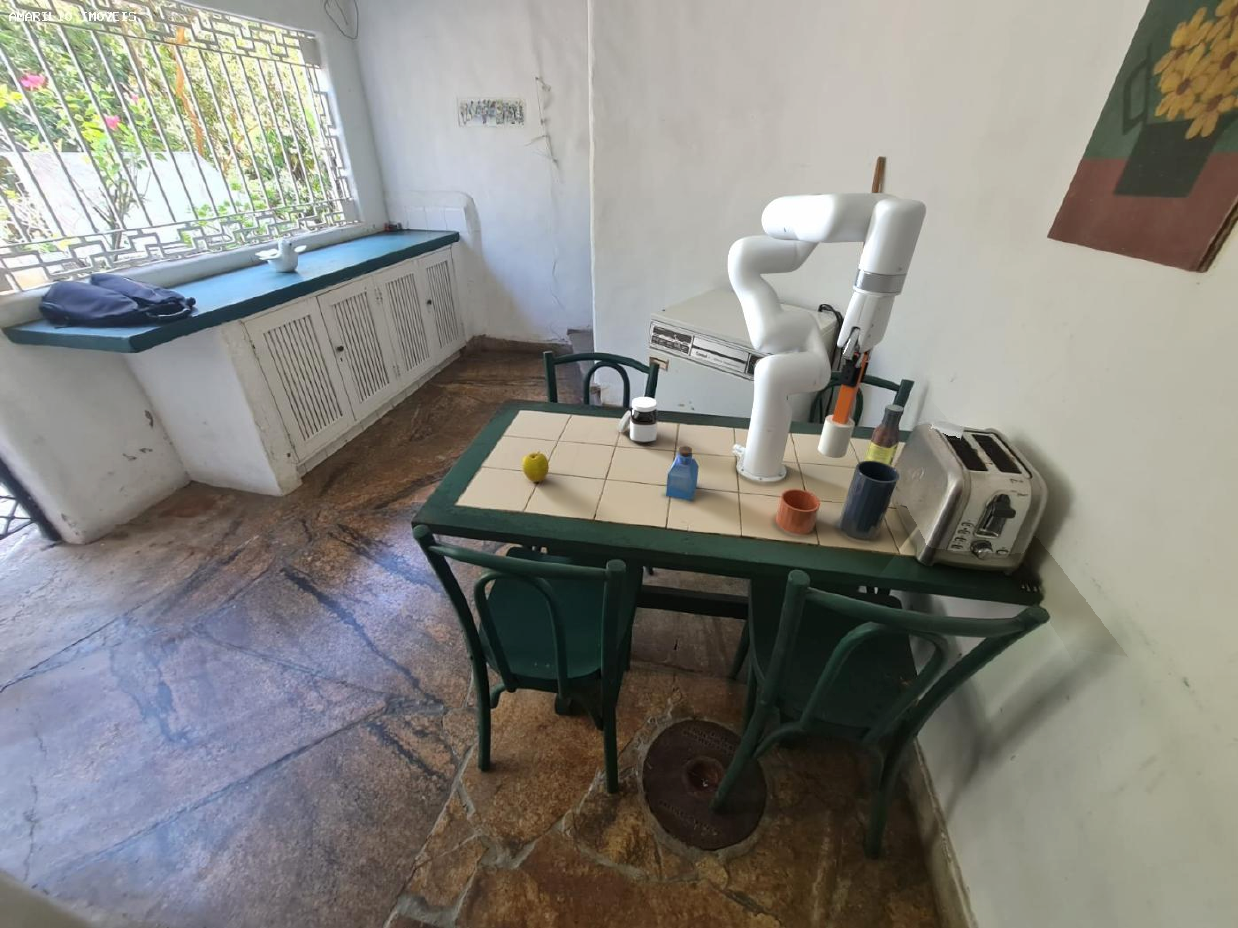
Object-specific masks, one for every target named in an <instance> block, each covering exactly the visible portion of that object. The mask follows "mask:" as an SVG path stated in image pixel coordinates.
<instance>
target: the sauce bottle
mask: <svg viewBox="0 0 1238 928" xmlns="http://www.w3.org/2000/svg"><path fill="white" fill-rule="evenodd" d="M883 411H884V414H883V417H882V419H881V422H880V423H879V425H877V426H876V427H875V428H874V430H873V432H872V436H871V439H870V440H869V443H868V447H867V451H866V454H865V457H864V460H863V461H877V462H882V463H884V464H887V465H889V466H891V467H892V465H893V463H894V462H893V461H894V459H895V456H896V453H897V449H898V447H899V445H900V444H899V443H900V441H901V437H900V436H901V435H900V434H901V433H900V422H901V419H902V416H904V412H905V408H904V407H902V406H901V405H898V404H892V403H890V404H886V405H885V407H884V410H883Z"/></svg>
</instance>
